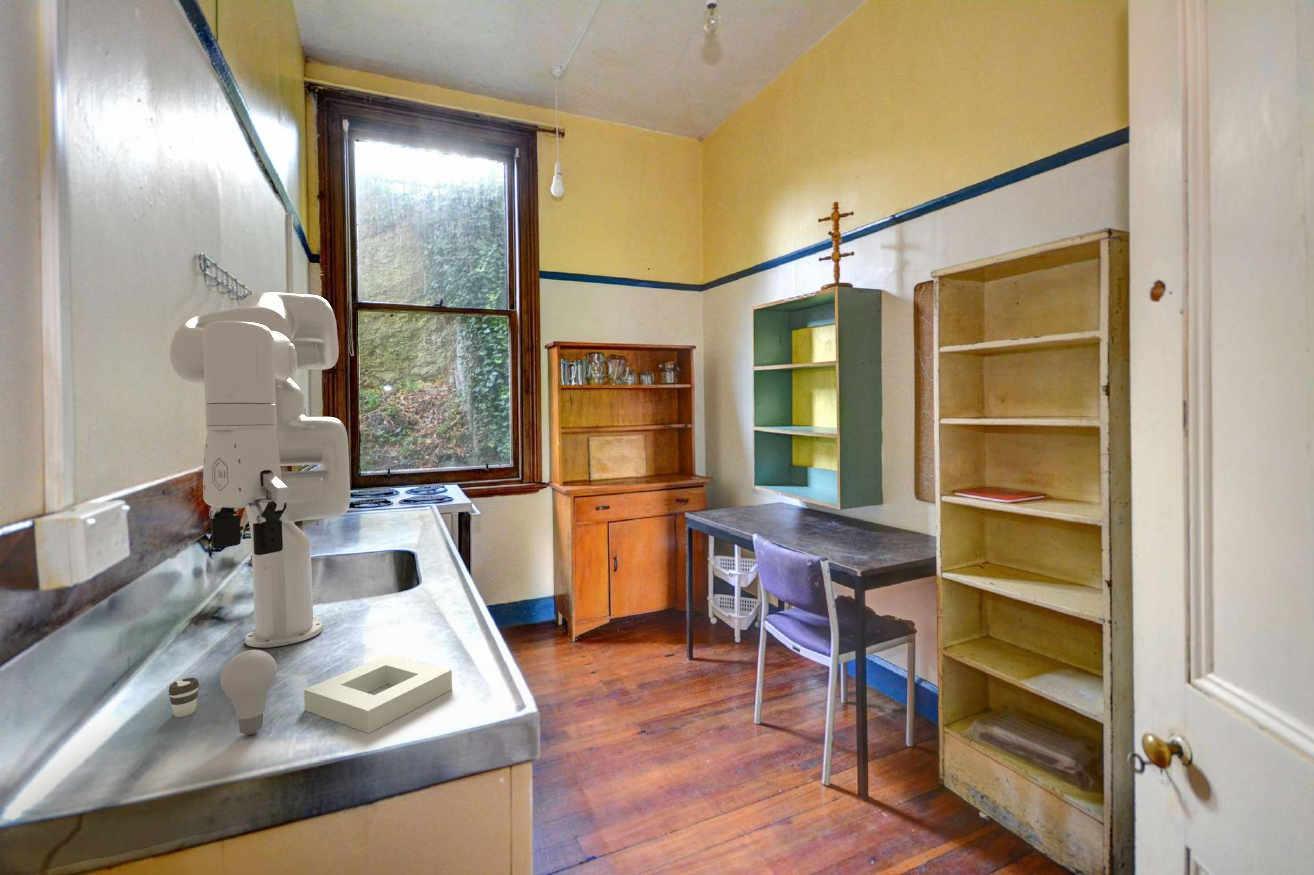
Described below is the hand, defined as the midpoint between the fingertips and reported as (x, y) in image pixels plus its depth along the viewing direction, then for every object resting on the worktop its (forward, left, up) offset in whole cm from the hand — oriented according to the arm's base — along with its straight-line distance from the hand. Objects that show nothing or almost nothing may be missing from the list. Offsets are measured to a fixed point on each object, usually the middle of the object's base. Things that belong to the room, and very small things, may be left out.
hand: (247, 549), depth 77 cm
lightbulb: (0, 0, -25) cm, 25 cm away
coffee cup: (-15, -1, -25) cm, 29 cm away
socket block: (+7, +14, -24) cm, 29 cm away
